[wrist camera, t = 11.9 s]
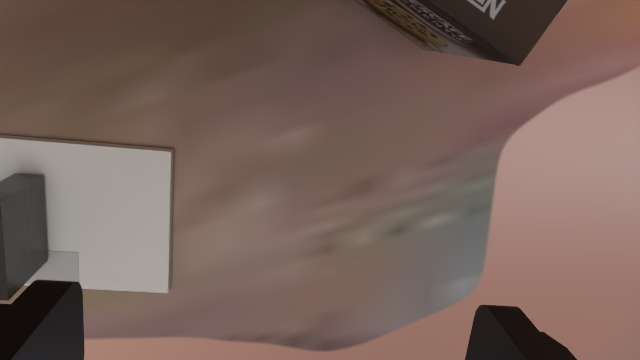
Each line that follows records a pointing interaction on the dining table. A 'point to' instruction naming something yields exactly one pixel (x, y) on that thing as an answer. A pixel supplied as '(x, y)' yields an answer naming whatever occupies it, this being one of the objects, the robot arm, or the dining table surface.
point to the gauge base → (100, 210)
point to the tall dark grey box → (21, 231)
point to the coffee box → (471, 25)
